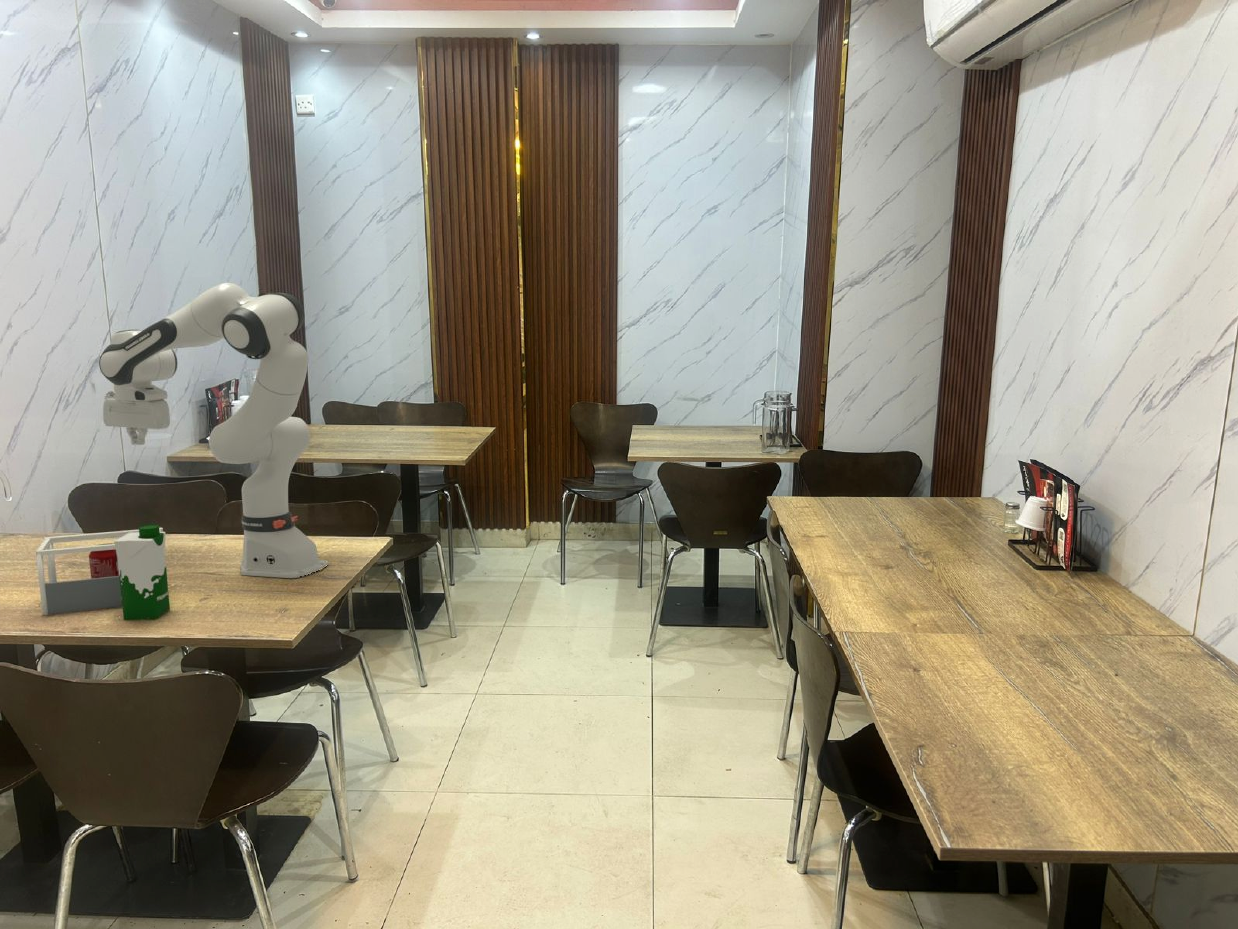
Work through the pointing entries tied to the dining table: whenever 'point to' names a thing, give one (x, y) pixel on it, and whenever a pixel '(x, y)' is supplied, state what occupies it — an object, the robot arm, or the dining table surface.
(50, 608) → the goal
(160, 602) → the milk carton
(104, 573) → the soda can
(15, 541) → the dining table surface
